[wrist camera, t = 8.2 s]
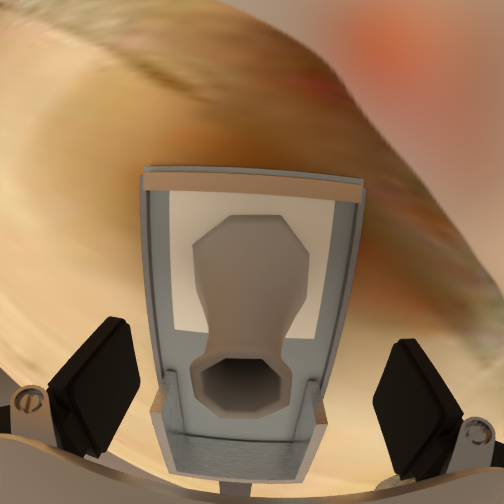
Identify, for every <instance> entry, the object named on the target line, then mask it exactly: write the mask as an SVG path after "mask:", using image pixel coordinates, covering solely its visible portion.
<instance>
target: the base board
mask: <svg viewBox="0 0 504 504" xmlns="http://www.w3.org/2000/svg"><path fill="white" fill-rule="evenodd" d="M363 184H364V179H360V178H353V177H345V176H337V175H328V174H319V173H309V172H299V171H287V170H274V169H260V168H242V167H217V166H145V167H144V173H143V175H140V218H141V243H142V260H143V273H144V285H145V295H146V305H147V313H148V321H149V329H150V336H151V343H152V350H153V356H154V362H155V368H156V374H157V379H158V384H159V386H160V384H161V381H162V379H163V376H164V374H165V371H171V372H176V378H177V385H178V392H179V399H180V405H181V412H182V418H183V424H184V429H185V435H187V436H193V437H201V438H209V439H218V440H229V441H242V442H263V443H292V440H293V437H294V433H295V430H296V426H297V423H298V419H299V415H300V412H301V408H302V404H303V400H304V396H305V392H306V388H307V384H308V381H318V382H319V386H320V390H321V395H322V399H323V398H324V395H325V392H326V388H327V385H328V382H329V378H330V375H331V371H332V368H333V364H334V360H335V357H336V353H337V349H338V345H339V341H340V337H341V333H342V329H343V325H344V320H345V316H346V311H347V307H348V302H349V298H350V293H351V288H352V283H353V277H354V272H355V267H356V261H357V255H358V249H359V243H360V236H361V229H362V222H363V215H364V207H365V199H366V190H367V189H366V188H363ZM230 215H281V216H282V217H283V219H284V220H285V221H286V223H287V224H288V225H289V227H290V228H291V229H292V231H293V232H294V233H295V235H296V236H297V237H298V239H299V240H300V242H301V243H302V244H303V246H304V247H305V248H306V250H307V251H308V253H309V272H308V287H307V298H306V300H305V302H304V304H303V306H302V307H301V309H300V310H299V312H298V314H297V315H296V317H295V319H294V321H293V323H292V325H291V327H290V329H289V330H288V332H287V334H286V336H285V338H284V340H283V345H282V351H281V359H282V360H283V361H284V363H285V364H286V365H287V366H288V367H289V368H290V369H291V371H292V387H291V396H290V405H288V406H286V407H284V408H282V409H280V410H278V411H276V412H273V413H271V414H269V415H267V416H264V417H262V418H260V419H227V418H220V417H218V416H217V415H216V414H214V413H213V412H212V411H211V410H209V409H208V408H207V407H206V406H204V405H203V404H202V403H201V402H199V401H198V400H197V399H196V398H195V397H194V392H193V386H192V381H191V376H190V370H189V368H190V364H191V363H192V362H193V361H194V360H195V359H197V358H199V357H200V356H202V355H204V352H205V348H206V344H207V340H208V336H209V332H208V324H207V321H206V317H205V314H204V311H203V308H202V305H201V303H200V300H199V297H198V295H197V291H196V285H195V273H194V261H193V248H192V245H193V244H194V243H195V242H197V241H198V240H199V239H200V238H202V237H203V236H204V235H205V234H207V233H208V232H209V231H211V230H212V229H213V228H214V227H216V226H217V225H218V224H220V223H221V222H222V221H223V220H225V219H226V218H227V217H229V216H230Z"/></svg>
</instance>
